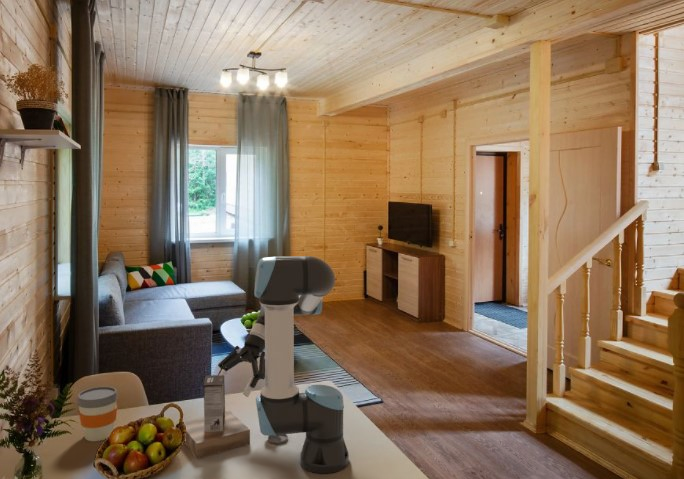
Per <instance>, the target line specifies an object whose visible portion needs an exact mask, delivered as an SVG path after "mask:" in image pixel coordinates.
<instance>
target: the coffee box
mask: <svg viewBox="0 0 684 479" xmlns="http://www.w3.org/2000/svg"><path fill="white" fill-rule="evenodd" d="M225 393H226V391H225V379H224V375H218V374H212V375H211V374H210V375H205V377H204V382H203V417H204V429H205V432H215V431H224V424H225V412H226V400H225V399H226V397H225V396H226V394H225Z"/></svg>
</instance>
